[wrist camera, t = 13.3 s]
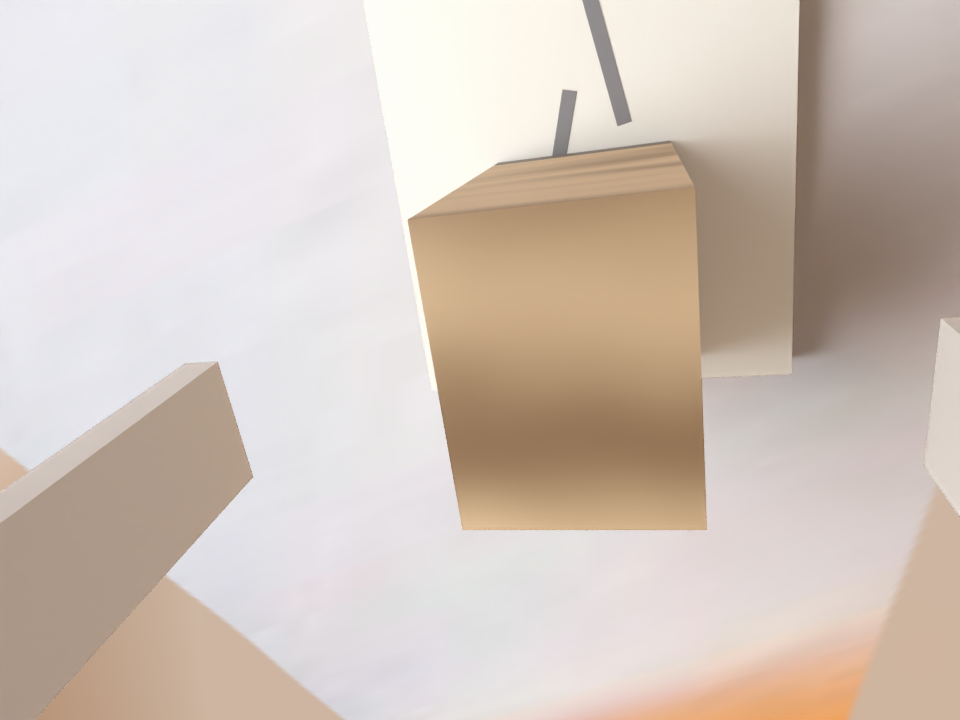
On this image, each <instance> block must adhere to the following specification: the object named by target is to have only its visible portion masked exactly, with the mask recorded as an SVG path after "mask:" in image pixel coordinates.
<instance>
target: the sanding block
mask: <svg viewBox="0 0 960 720" xmlns="http://www.w3.org/2000/svg"><path fill="white" fill-rule="evenodd" d="M407 221H408V226H409V232H410V238H411V243H412V249H413V254H414V260H415V266H416V271H417V277H418V282H419V288H420V294H421V299H422V305H423V310H424V316H425V322H426V327H427V333H428V339H429V344H430V350H431V355H432V361H433V367H434V372H435V378H436V383H437V389H438V395H439V400H440V406H441V411H442V417H443V423H444V428H445V434H446V439H447V445H448V451H449V456H450V462H451V468H452V473H453V479H454V484H455V490H456V496H457V501H458V507H459V512H460V518H461V524H462V529H463V530H707V520H706V491H705V462H704V432H703V403H702V374H701V345H700V316H699V287H698V257H697V228H696V199H695V186H694V184H693V182H692V181H691V179H690V177H689V175H688V173H687V171H686V169H685V167H684V166H683V164H682V162H681V160H680V158H679V156H678V154H677V152H676V151H675V149H674V147H673V145H672V143H671V141H662V142H655V143H647V144H639V145H632V146H624V147H616V148H608V149H601V150H593V151H585V152H577V153H570V154H562V155H554V156H547V157H539V158H531V159H523V160H516V161H508V162H500V163H497V164H495V165H494V166H492V167H491V168H489V169H487V170H486V171H484V172H483V173H481V174H479V175H478V176H476V177H475V178H473V179H471V180H470V181H468V182H467V183H465V184H464V185H462V186H460V187H459V188H457V189H456V190H454V191H452V192H451V193H449V194H448V195H446V196H444V197H443V198H441V199H440V200H438V201H437V202H435V203H433V204H432V205H430V206H429V207H427V208H425V209H424V210H422V211H421V212H419V213H417V214H416V215H414V216H413V217H411V218H409V219H408V220H407Z"/></svg>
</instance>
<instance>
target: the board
mask: <svg viewBox="0 0 960 720" xmlns="http://www.w3.org/2000/svg"><path fill="white" fill-rule="evenodd" d="M363 3H364V8H365V14H366V20H367V25H368V31H369V37H370V42H371V48H372V54H373V59H374V65H375V71H376V76H377V82H378V88H379V93H380V99H381V105H382V110H383V116H384V122H385V128H386V133H387V139H388V145H389V150H390V156H391V162H392V167H393V173H394V179H395V184H396V190H397V196H398V201H399V207H400V213H401V218H402V224H403V230H404V235H405V241H406V247H407V252H408V258H409V264H410V270H411V275H412V281H413V287H414V292H415V298H416V304H417V309H418V315H419V321H420V326H421V332H422V338H423V343H424V349H425V355H426V360H427V366H428V372H429V377H430V383H431V389H432V390H438V389H437V383H436V378H435V372H434V367H433V361H432V355H431V350H430V344H429V339H428V333H427V327H426V322H425V316H424V310H423V305H422V299H421V294H420V288H419V282H418V277H417V271H416V266H415V260H414V254H413V249H412V243H411V238H410V232H409V226H408V221H407V220H408V219H409V218H411V217H413V216H414V215H416V214H417V213H419V212H421V211H422V210H424V209H425V208H427V207H429V206H430V205H432V204H433V203H435V202H437V201H438V200H440V199H441V198H443V197H444V196H446V195H448V194H449V193H451V192H452V191H454V190H456V189H457V188H459V187H460V186H462V185H464V184H465V183H467V182H468V181H470V180H471V179H473V178H475V177H476V176H478V175H479V174H481V173H483V172H484V171H486V170H487V169H489V168H491V167H492V166H494V165H495V164H497V163H500V162H508V161H516V160H523V159H531V158H539V157H547V156H554V155H562V154H570V153H577V152H585V151H593V150H601V149H608V148H616V147H624V146H632V145H639V144H647V143H655V142H662V141H671V143H672V145H673V147H674V149H675V151H676V152H677V154H678V156H679V158H680V160H681V162H682V164H683V166H684V167H685V169H686V171H687V173H688V175H689V177H690V179H691V181H692V182H693V184H694V186H695V199H696V228H697V257H698V287H699V316H700V345H701V374H702V378H718V377H741V376H763V375H785V374H792V339H793V290H794V241H795V193H796V144H797V96H798V47H799V0H363Z"/></svg>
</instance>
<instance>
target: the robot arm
mask: <svg viewBox="0 0 960 720" xmlns="http://www.w3.org/2000/svg"><path fill="white" fill-rule="evenodd" d="M924 467H925V468H926V470H927V471H928V472H929V474H930V475H931V477H932V478H933V480H934V481H935V482H936V484H937V485H938V487H939V488H940V490H941V491H942V492H943V494H944V495H945V497H946V498H947V499H948V501H949V502H950V504H951V505H952V506H953V508H954V509H955V511H956V512H957V514H958V515H959V517H960V317H948V318H941V319H940V328H939V337H938V346H937V355H936V364H935V373H934V382H933V391H932V400H931V409H930V418H929V427H928V436H927V445H926V454H925V463H924ZM252 478H253V475H252V471H251V468H250V465H249V462H248V458H247V455H246V452H245V449H244V445H243V442H242V439H241V436H240V432H239V429H238V426H237V423H236V420H235V416H234V413H233V410H232V407H231V403H230V400H229V397H228V394H227V390H226V387H225V384H224V381H223V377H222V374H221V371H220V368H219V364H218V362H204V363H187V364H184V365H182V366H181V367H180V368H178V369H177V370H175V371H174V372H172V373H171V374H169V375H168V376H167V377H165V378H164V379H162V380H161V381H159V382H158V383H156V384H155V385H154V386H152V387H151V388H149V389H148V390H146V391H145V392H143V393H142V394H141V395H139V396H138V397H136V398H135V399H133V400H132V401H130V402H129V403H128V404H126V405H125V406H123V407H122V408H120V409H119V410H117V411H116V412H115V413H113V414H112V415H110V416H109V417H107V418H106V419H104V420H103V421H102V422H100V423H99V424H97V425H96V426H94V427H93V428H92V429H90V430H89V431H87V432H86V433H84V434H83V435H81V436H80V437H79V438H77V439H76V440H74V441H73V442H71V443H70V444H68V445H67V446H66V447H64V448H63V449H61V450H60V451H58V452H57V453H55V454H54V455H53V456H51V457H50V458H48V459H47V460H45V461H44V462H42V463H41V464H40V465H38V466H37V467H35V468H34V469H32V470H31V471H29V472H28V473H27V474H25V475H24V476H22V477H21V478H20V479H18V480H17V481H15V482H14V483H12V484H11V485H9V486H8V487H6V488H5V489H4V490H2V491H1V492H0V720H35V719H36V718H37V717H38V716H39V715H40V714H41V713H42V712H43V710H44V709H45V708H46V707H47V706H48V705H49V704H50V703H51V702H52V700H53V699H54V698H55V697H56V696H57V695H58V694H59V693H60V692H61V690H62V689H63V688H64V687H65V686H66V685H67V684H68V683H69V682H70V680H71V679H72V678H73V677H74V676H75V675H76V674H77V673H78V671H79V670H80V669H81V668H82V667H83V666H84V665H85V664H86V663H87V661H88V660H89V659H90V658H91V657H92V656H93V655H94V654H95V652H96V651H97V650H98V649H99V648H100V647H101V646H102V645H103V643H104V642H105V641H106V640H107V639H108V638H109V637H110V636H111V635H112V634H113V632H114V631H115V630H116V629H117V628H118V627H119V626H120V625H121V623H122V622H123V621H124V620H125V619H126V618H127V617H128V616H129V615H130V614H131V612H132V611H133V610H134V609H135V608H136V607H137V606H138V604H140V602H141V601H142V600H143V599H144V598H145V597H146V596H147V595H148V593H149V592H150V591H151V590H152V589H153V588H154V587H155V586H156V585H157V583H158V582H159V581H160V580H161V579H162V578H163V577H164V576H165V575H166V573H167V572H168V571H169V570H170V569H171V568H172V567H173V566H174V564H175V563H176V562H177V561H178V560H179V559H180V558H181V557H182V556H183V554H184V553H185V552H186V551H187V550H188V549H189V548H190V547H191V546H192V544H193V543H194V542H195V541H196V540H197V539H198V538H199V537H200V536H201V534H202V533H203V532H204V531H205V530H206V529H207V528H208V527H209V525H210V524H211V523H212V522H213V521H214V520H215V519H216V518H217V517H218V515H219V514H220V513H221V512H222V511H223V510H224V509H225V508H226V507H227V505H228V504H229V503H230V502H231V501H232V500H233V499H234V498H235V496H236V495H237V494H238V493H239V492H240V491H241V490H242V489H243V488H244V486H245V485H246V484H247V483H248V482H249V481H250V480H251V479H252Z"/></svg>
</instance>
